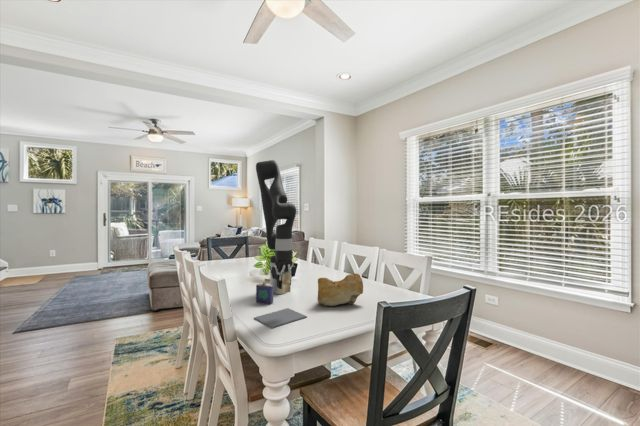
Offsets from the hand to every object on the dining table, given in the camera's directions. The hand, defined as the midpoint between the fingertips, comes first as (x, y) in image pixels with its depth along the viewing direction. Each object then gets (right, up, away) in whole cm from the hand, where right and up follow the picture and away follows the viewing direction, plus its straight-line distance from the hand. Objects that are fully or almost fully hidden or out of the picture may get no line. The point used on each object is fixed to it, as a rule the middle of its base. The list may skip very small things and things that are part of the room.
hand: (284, 287), depth 135 cm
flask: (-12, -13, +20) cm, 27 cm away
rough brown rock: (+25, -13, +22) cm, 36 cm away
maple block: (0, -2, 0) cm, 2 cm away
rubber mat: (-1, -13, -1) cm, 13 cm away
